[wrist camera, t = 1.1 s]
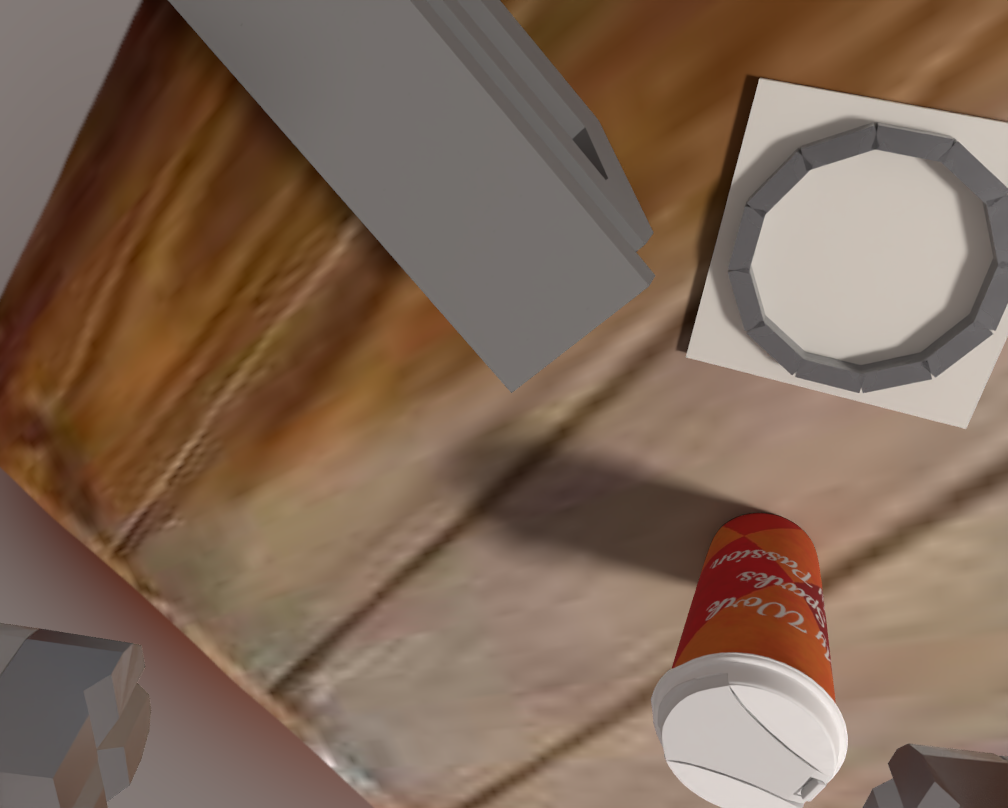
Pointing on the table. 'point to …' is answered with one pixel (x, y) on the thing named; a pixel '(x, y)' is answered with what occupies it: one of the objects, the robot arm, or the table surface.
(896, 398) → the pale board
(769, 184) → the steel ring collar
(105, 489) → the table surface
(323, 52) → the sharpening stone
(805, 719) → the coffee cup
